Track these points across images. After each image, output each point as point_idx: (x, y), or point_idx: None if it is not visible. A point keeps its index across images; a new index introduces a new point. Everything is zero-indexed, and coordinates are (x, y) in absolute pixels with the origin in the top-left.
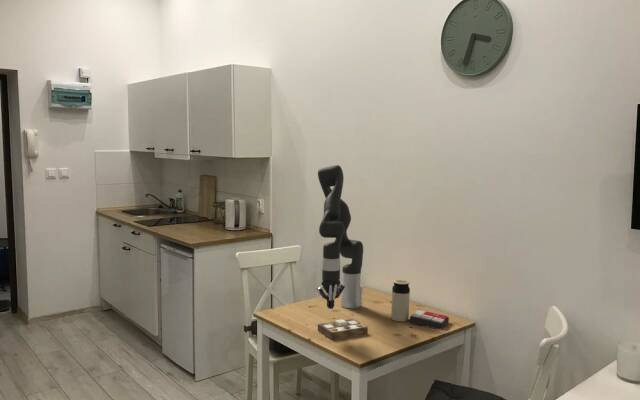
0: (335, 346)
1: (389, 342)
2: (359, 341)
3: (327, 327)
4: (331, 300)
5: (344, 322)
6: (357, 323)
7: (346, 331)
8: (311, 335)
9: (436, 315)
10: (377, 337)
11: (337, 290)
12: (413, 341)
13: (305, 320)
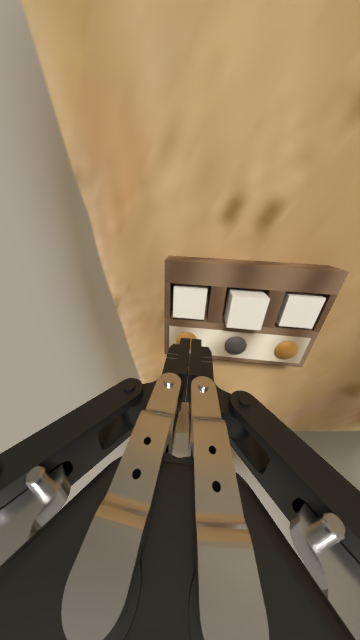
0: (154, 372)
1: (282, 409)
2: (226, 377)
3: (176, 313)
4: (182, 401)
5: (249, 328)
6: (306, 327)
7: (217, 357)
8: (130, 283)
9: None
10: (288, 380)
11: (278, 472)
12: (332, 427)
13: (194, 55)
